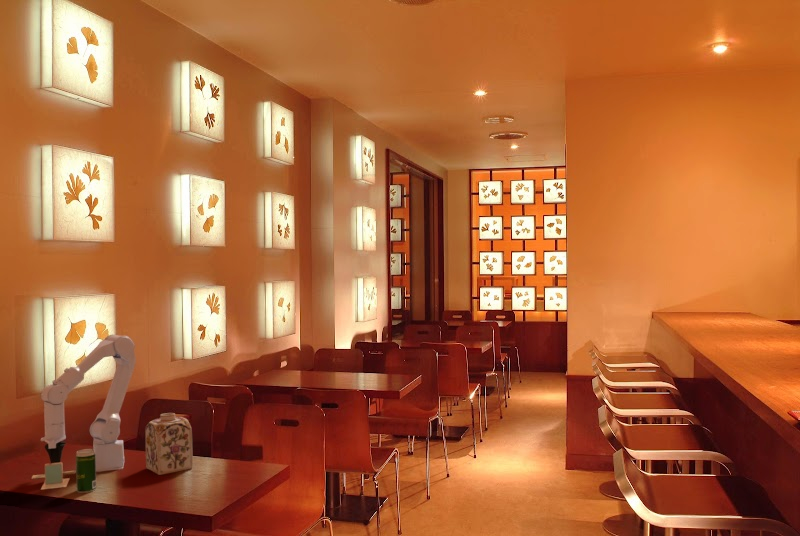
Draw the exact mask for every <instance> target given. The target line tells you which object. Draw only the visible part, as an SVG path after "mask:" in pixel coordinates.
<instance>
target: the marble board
mask: <svg viewBox="0 0 800 536" xmlns="http://www.w3.org/2000/svg"><path fill="white" fill-rule="evenodd" d="M70 479H71V478H70V477H69V478H63V483H57V484H48V485H45V481H44V482H43V484H42V486H41V488H40V490H49V489H58V488H67V486H68V484H69V481H70Z"/></svg>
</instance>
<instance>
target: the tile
mask: <svg viewBox="0 0 800 536" xmlns="http://www.w3.org/2000/svg"><path fill="white" fill-rule="evenodd" d="M63 472H64V469H63V462H62V461H61V462H59V463H51V462H50V463H45V464H44V474H45V478H44V482H45V485H48V484H57V483H63V479H64V475H63Z"/></svg>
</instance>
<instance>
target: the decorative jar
mask: <svg viewBox="0 0 800 536" xmlns="http://www.w3.org/2000/svg"><path fill="white" fill-rule="evenodd" d="M159 416H160V417H159V418H155V419H153V420H151V421H149V422H148V423H147V425H146V426H145V429H144V430H145V432H144V433H145V465H146V469H147V470H149V471H151V472H153V473H154V474H157V475H159V476H162V475H168V474H173V473H177V472H181V471H182V472H183V471H189V470H191V469H193V466H194V465H193V461H194V459H193V457H194V456H193V452H194V451H193V430H192V426H191V423H190V422H189V419H187V418H186V417H182V416H181V417H180V416H176V413H174V412H167V413H161V414H160V415H159Z"/></svg>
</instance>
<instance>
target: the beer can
mask: <svg viewBox="0 0 800 536" xmlns="http://www.w3.org/2000/svg"><path fill="white" fill-rule="evenodd" d="M75 453H76V454H75V476H76V477H75V478H76V491H77V493H78V494H87V493H92V492H94V491H96V489H97V472H96V454H95V450H94V449H93V448H84V449H80V450H77V451H76V452H75Z"/></svg>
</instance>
